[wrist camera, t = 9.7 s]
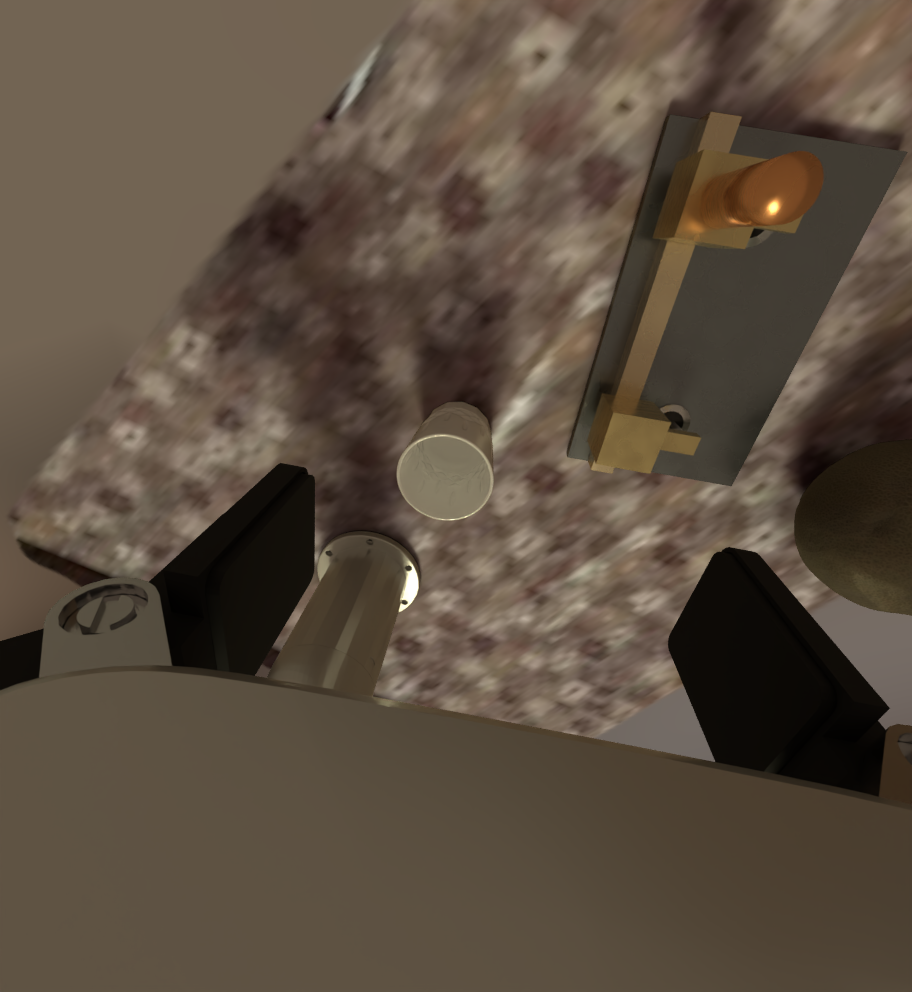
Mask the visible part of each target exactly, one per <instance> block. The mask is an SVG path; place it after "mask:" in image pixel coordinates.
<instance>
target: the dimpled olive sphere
mask: <svg viewBox="0 0 912 992" xmlns="http://www.w3.org/2000/svg"><path fill="white" fill-rule="evenodd" d="M794 535H795V541H796V546H797V549H798V551H799V554H800V556H801V558H802V560H803V562H804V563H805V565H806V566H807V567H808V569H809V570H810V571H811V572H812V573H813V574H814V575H815V576H816V577H817V578H818V579H819V580H820V581H822V582H823V583H824V584H825V585H827V586H828V587H829V588H830V589H832V590H833V591H834V592H836V593H838V594H839V595H841V596H843V597H844V598H846V599H848V600H850V601H852V602H854V603H856V604H859V605H861V606H864V607H867V608H869V609H873V610H877V611H884V612H890V613H899V614H906V615H911V616H912V439H911V440H899V441H891V442H883V443H878V444H874V445H870V446H867V447H864V448H862V449H860V450H857V451H855V452H853V453H851V454H849V455H847V456H846V457H844V458H843V459H841V460H839V461H838V462H836V463H834V464H833V465H831V466H830V467H828V468H827V469H826V470H825V471H824V472H822V473H821V474H820V475H819V476H818V477H817V478H816V479H815V480H814V481H813V482H812V483H811V484H810V485H809V487H808V488H807V489H806V491H805V492H804V494H803V495H802V497H801V499H800V502H799V505H798V507H797V509H796V513H795V520H794Z"/></svg>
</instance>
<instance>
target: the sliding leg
mask: <svg viewBox="0 0 912 992" xmlns="http://www.w3.org/2000/svg"><path fill="white" fill-rule="evenodd" d="M823 178H824V173H823V167H822V164H821V162H820V160H819V159H818V158H817V157H816V156H815V155H814V154H812V153H810V152H806V151H795V152H791V153H788V154H785V155H781V156H778V157H775V158H772V159H763V158H756V157H750V156H744V155H738V154H731V153H725V152H719V151H713V150H706V149H703V150H701V151H699V152H697V153H695V154H693V155H691V156H689V157H687V158H685V159H683V160H681V161H679V162H676V165H675V168H674V171H673V174H672V178H671V181H670V184H669V187H668V190H667V193H666V196H665V200H664V203H663V206H662V209H661V212H660V215H659V218H658V222H657V225H656V228H655V231H654V234H653V237H652V238H655V239H661V240H667V241H673V242H679V243H685V244H691V245H697V246H703V247H709V248H723V249H745V248H746V246H747V243H748V241H749V238H750V236H751V234H752V231H753V229H754V228H756V229H762V230H768V231H774V232H780V233H786V234H788V233H795V232H796V230H797V228H798V226H799V223H800V221H801V219H802V217H803V215H804V214H805V213H806V212H807V211H808V210H809V209H810V208H811V206H812V205H813V204H814V202H815V201H816V199H817V197H818V196H819V193H820V191H821V188H822V185H823Z"/></svg>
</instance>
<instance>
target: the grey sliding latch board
mask: <svg viewBox="0 0 912 992" xmlns="http://www.w3.org/2000/svg"><path fill="white" fill-rule="evenodd" d="M741 118H742V117H741V116H735V115H729V114H722V113H716V112H710V113H708V114H707V115H705V116H703V117H702V118H700V119H696V118H689V117H683V116H677V115H669V116H668V117H666V119H665V122H664V126H663V129H662V132H661V136H660V139H659V143H658V146H657V149H656V153H655V156H654V159H653V163H652V166H651V170H650V173H649V176H648V180H647V183H646V186H645V190H644V193H643V197H642V200H641V203H640V207H639V210H638V213H637V217H636V220H635V224H634V227H633V230H632V234H631V237H630V240H629V244H628V247H627V251H626V254H625V257H624V261H623V264H622V267H621V271H620V274H619V278H618V281H617V284H616V288H615V291H614V294H613V298H612V301H611V305H610V308H609V311H608V315H607V318H606V321H605V325H604V328H603V332H602V335H601V338H600V342H599V345H598V348H597V352H596V355H595V359H594V362H593V365H592V369H591V372H590V375H589V379H588V382H587V386H586V389H585V392H584V396H583V399H582V402H581V406H580V409H579V413H578V416H577V419H576V423H575V426H574V429H573V433H572V436H571V440H570V443H569V446H568V450H567V457H570V458H575V459H581V460H586V461H588V462H589V465H590V468H591V470H595V471H600V472H606V473H613V470H614V468H621V469H627V470H632V471H638V472H644V473H649V474H650V473H651V472H654V473H660V474H666V475H671V476H677V477H683V478H688V479H694V480H699V481H705V482H711V483H716V484H722V485H728V486H732V484H733V482H734V480H735V479H736V477H737V475H738V473H739V471H740V469H741V467H742V465H743V463H744V461H745V460H746V458H747V456H748V454H749V452H750V450H751V448H752V446H753V444H754V442H755V441H756V439H757V437H758V435H759V433H760V431H761V429H762V427H763V425H764V423H765V422H766V420H767V418H768V416H769V414H770V412H771V410H772V408H773V406H774V404H775V403H776V401H777V399H778V397H779V395H780V393H781V391H782V389H783V387H784V385H785V384H786V382H787V380H788V378H789V376H790V374H791V372H792V370H793V368H794V366H795V365H796V363H797V361H798V359H799V357H800V355H801V353H802V351H803V349H804V347H805V346H806V344H807V342H808V340H809V338H810V336H811V334H812V332H813V330H814V328H815V327H816V325H817V323H818V321H819V319H820V317H821V315H822V313H823V311H824V309H825V308H826V306H827V304H828V302H829V300H830V298H831V296H832V294H833V292H834V290H835V289H836V287H837V285H838V283H839V281H840V279H841V277H842V275H843V273H844V271H845V270H846V268H847V266H848V264H849V262H850V260H851V258H852V256H853V254H854V252H855V251H856V249H857V247H858V245H859V243H860V241H861V239H862V237H863V235H864V233H865V232H866V230H867V228H868V226H869V224H870V222H871V220H872V218H873V216H874V214H875V213H876V211H877V209H878V207H879V205H880V203H881V201H882V199H883V197H884V195H885V194H886V192H887V190H888V188H889V186H890V184H891V182H892V180H893V178H894V176H895V175H896V173H897V171H898V169H899V167H900V165H901V163H902V161H903V159H904V157H905V156H906V154H907V152H905V151H898V150H892V149H886V148H879V147H873V146H867V145H860V144H854V143H848V142H841V141H835V140H829V139H822V138H816V137H810V136H803V135H797V134H791V133H784V132H778V131H772V130H765V129H759V128H753V127H746V126H740V125H739V124H740V121H741ZM703 149H706V150H713V151H719V152H725V153H731V154H738V155H744V156H750V157H756V158H763V159H772V158H775V157H778V156H781V155H785V154H788V153H791V152H795V151H806V152H810V153H812V154H814V155H815V156H816V157H817V158H818V159H819V160H820V162H821V164H822V167H823V173H824V178H823V185H822V188H821V191H820V193H819V196H818V197H817V199H816V201H815V202H814V204H813V205H812V206H811V208H810V209H809V210H808V211H807V212H806V213H805V214H804V215H803V217H802V219H801V221H800V223H799V226H798V228H797V230H796V232H795V233H788V234H786V233H780V232H774V231H768V230H762V229H756V228H754V229H753V231H752V234H751V236H750V238H749V241H748V243H747V246H746V248H745V249H723V248H709V247H703V246H697V245H691V244H685V243H679V242H673V241H667V240H661V239H655V238H652V237H653V234H654V231H655V228H656V225H657V222H658V218H659V215H660V212H661V209H662V206H663V203H664V200H665V196H666V193H667V190H668V187H669V184H670V181H671V178H672V174H673V171H674V168H675V165H676V162H679V161H681V160H683V159H685V158H687V157H689V156H691V155H693V154H695V153H697V152H699V151H701V150H703Z"/></svg>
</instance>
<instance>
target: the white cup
mask: <svg viewBox="0 0 912 992" xmlns="http://www.w3.org/2000/svg"><path fill="white" fill-rule="evenodd" d="M493 481H494V478H493V445H492V433H491V430H490V426H489V423H488V419H487V418H486V417H485V416H484V415H483V414H482V413H481V411H480V410H479V409H478V408H477V407H474V406H472V405H469V404H467V403H465V402H447V403H445V404H443V405H441V406H439V407H437V408H436V409H434V410H433V411H432V413H431V414H430V416H429V417H428V418H427V419H426V420H425V421H424V422H423V424H422V425H421V426H420V428H419V429H418V431H417V432H416V434H415V435H414V437H413V438H412V440H411V441H410V443H409V444H408V446H407V447H406V449H405V450H404V452H403V453H402V455H401V457H400V459H399V462H398V466H397V482H398V486H399V489H400V491H401V493H402V495H403V497H404V498H405V499H406V501H407V502H408V503H409V504H410V505H411V506H412V507H413V508H414V509H416V510H417V511H418V512H420V513H422V514H424V515H426V516H428V517H431V518H434V519H439V520H458V519H462V518H466V517H468V516H470V515H472V514H474V513H476V512H477V511H478V510H480V509H481V508H482V507H483V506H484V504H485V503H486V502H487V500H488V499H489V497H490V495H491V492H492V489H493Z"/></svg>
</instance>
